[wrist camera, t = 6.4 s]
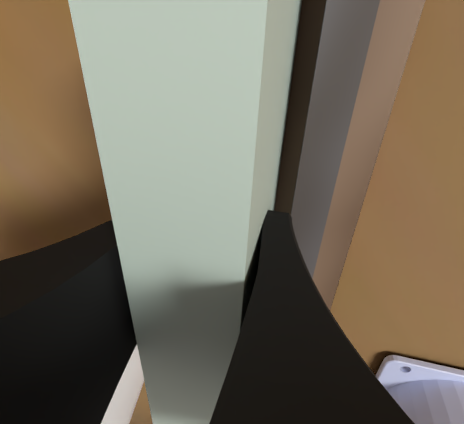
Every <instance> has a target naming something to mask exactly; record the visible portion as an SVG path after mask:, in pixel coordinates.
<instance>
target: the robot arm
mask: <svg viewBox="0 0 464 424" xmlns="http://www.w3.org/2000/svg"><path fill="white" fill-rule="evenodd" d="M136 345H137V341H136V336H135V331H134V326H133V321H132V316H131V311H130V306H129V301H128V296H127V291H126V286H125V281H124V276H123V271H122V266H121V261H120V256H119V251H118V246H117V241H116V236H115V231H114V226H113V221H112V220H111V221H108V222H106V223H104V224H101V225H99V226H97V227H95V228H92V229H90V230H88V231H85V232H83V233H81V234H79V235H76V236H74V237H71V238H69V239H66V240H63V241H61V242H58V243H55V244H52V245H50V246H47V247H44V248H41V249H38V250H35V251H32V252H29V253H26V254H23V255H19V256H16V257H12V258H9V259H5V260H2V261H0V424H101V422H102V420H103V417H104V415H105V413H106V411H107V408H108V406H109V404H110V401H111V399H112V397H113V395H114V392H115V390H116V388H117V385H118V383H119V381H120V379H121V377H122V374H123V372H124V370H125V368H126V366H127V364H128V362H129V359H130V357H131V355H132V353H133V351H134V349H135V347H136ZM209 424H464V370H460V369H455V368H451V367H447V366H442V365H438V364H433V363H429V362H424V361H420V360H415V359H411V358H407V357H402V356H398V355H389V356H386V357H385V358H384V360H383V362H382V364H381V366H380V368H379V370H378V372H377V374H376V376H375V375H374V373H373V372H372V371H371V369H370V368H369V367H368V365H367V364H366V363H365V361H364V360H363V359H362V357H361V356H360V355H359V353H358V352H357V351H356V349H355V348H354V346H353V345H352V344H351V342H350V341H349V340H348V338H347V337H346V335H345V334H344V332H343V331H342V329H341V328H340V326H339V325H338V323H337V322H336V320H335V318H334V317H333V315H332V314H331V312H330V310H329V309H328V307H327V305H326V304H325V302H324V300H323V298H322V296H321V295H320V293H319V291H318V289H317V287H316V285H315V283H314V281H313V279H312V277H311V275H310V273H309V271H308V268H307V266H306V264H305V261H304V259H303V256H302V254H301V251H300V249H299V246H298V243H297V240H296V237H295V233H294V229H293V225H292V217H291V215H290V214H289V213H285V212H279V211H272V210H268V211H267V213H266V215H265V218H264V221H263V230H262V238H261V247H260V256H259V265H258V271H257V276H256V280H255V283H254V287H253V290H252V294H251V297H250V301H249V304H248V307H247V311H246V314H245V317H244V321H243V324H242V327H241V331H240V334H239V337H238V340H237V343H236V346H235V349H234V352H233V355H232V359H231V362H230V365H229V368H228V371H227V374H226V377H225V380H224V383H223V385H222V388H221V391H220V394H219V397H218V400H217V403H216V406H215V409H214V412H213V414H212V417H211V420H210V423H209Z"/></svg>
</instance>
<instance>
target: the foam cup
mask: <svg viewBox="0 0 464 424" xmlns="http://www.w3.org/2000/svg"><path fill="white" fill-rule="evenodd" d="M143 383H144V376H143V371H142V366H141V361H140V356H139V351H138V346H137V345H136V347H135V349H134V351H133V353H132V355H131V357H130V359H129V362H128V364H127V366H126V368H125V370H124V372H123V374H122V377H121V379H120V381H119V383H118V385H117V388H116V390H115V392H114V395H113V397H112V399H111V401H110V404H109V406H108V408H107V411H106V413H105V415H104V417H103V420H102V422H101V424H129V423H130V420H131V417H132V414H133V411H134V408H135V406H136V403H137V400H138V397H139V394H140V391H141V389H142V386H143Z"/></svg>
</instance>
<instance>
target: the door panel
mask: <svg viewBox="0 0 464 424" xmlns="http://www.w3.org/2000/svg"><path fill="white" fill-rule="evenodd" d="M68 1H69V6H70V11H71V16H72V21H73V26H74V31H75V36H76V41H77V46H78V51H79V56H80V61H81V66H82V71H83V76H84V81H85V86H86V91H87V96H88V101H89V106H90V111H91V116H92V121H93V126H94V131H95V136H96V141H97V146H98V151H99V156H100V161H101V166H102V171H103V176H104V181H105V186H106V191H107V196H108V201H109V206H110V211H111V216H112V221H113V226H114V231H115V236H116V241H117V246H118V251H119V256H120V261H121V266H122V271H123V276H124V281H125V286H126V291H127V296H128V301H129V306H130V311H131V316H132V321H133V326H134V331H135V336H136V341H137V346H138V351H139V356H140V361H141V366H142V371H143V376H144V381H145V386H146V391H147V396H148V401H149V406H150V411H151V416H152V421H153V424H209V423H210V420H211V417H212V414H213V412H214V409H215V406H216V403H217V400H218V397H219V394H220V391H221V388H222V385H223V383H224V380H225V377H226V374H227V371H228V368H229V365H230V362H231V359H232V355H233V352H234V349H235V346H236V343H237V340H238V337H239V334H240V331H241V327H242V324H243V321H244V317H245V314H246V311H247V307H248V304H249V301H250V297H251V294H252V290H253V287H254V283H255V280H256V276H257V271H258V265H259V256H260V247H261V238H262V230H263V221H264V218H265V215H266V213H267V211H268V210H272V211H274V209H275V202H276V194H277V187H278V179H279V171H280V164H281V156H282V149H283V141H284V134H285V126H286V118H287V111H288V103H289V96H290V88H291V81H292V73H293V66H294V58H295V50H296V43H297V35H298V28H299V20H300V13H301V5H302V0H68Z"/></svg>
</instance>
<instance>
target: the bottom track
mask: <svg viewBox="0 0 464 424" xmlns="http://www.w3.org/2000/svg"><path fill="white" fill-rule="evenodd" d="M424 3H425V0H302V5H301V13H300V20H299V28H298V35H297V43H296V50H295V58H294V66H293V73H292V81H291V88H290V96H289V103H288V111H287V118H286V126H285V134H284V141H283V149H282V156H281V164H280V171H279V179H278V187H277V194H276V202H275V209H274V211H279V212H285V213H289V214H290V215H291V217H292V225H293V229H294V233H295V237H296V240H297V243H298V246H299V249H300V251H301V254H302V256H303V259H304V261H305V264H306V266H307V268H308V271H309V273H310V275H311V277H312V279H313V281H314V283H315V285H316V287H317V289H318V291H319V293H320V295H321V296H322V298H323V300H324V302H325V304H326V305H327V307H328V309H329V310H330V309H331V306H332V303H333V299H334V296H335V293H336V290H337V286H338V283H339V280H340V277H341V273H342V270H343V267H344V264H345V260H346V257H347V254H348V250H349V247H350V244H351V241H352V237H353V234H354V231H355V228H356V224H357V221H358V218H359V215H360V211H361V208H362V205H363V202H364V198H365V195H366V192H367V189H368V185H369V182H370V179H371V176H372V172H373V169H374V166H375V163H376V159H377V156H378V153H379V150H380V146H381V143H382V140H383V137H384V133H385V130H386V127H387V124H388V120H389V117H390V114H391V111H392V107H393V104H394V101H395V98H396V94H397V91H398V88H399V85H400V81H401V78H402V75H403V72H404V68H405V65H406V62H407V58H408V55H409V52H410V49H411V45H412V42H413V39H414V36H415V32H416V29H417V26H418V23H419V19H420V16H421V13H422V10H423V6H424Z"/></svg>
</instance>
